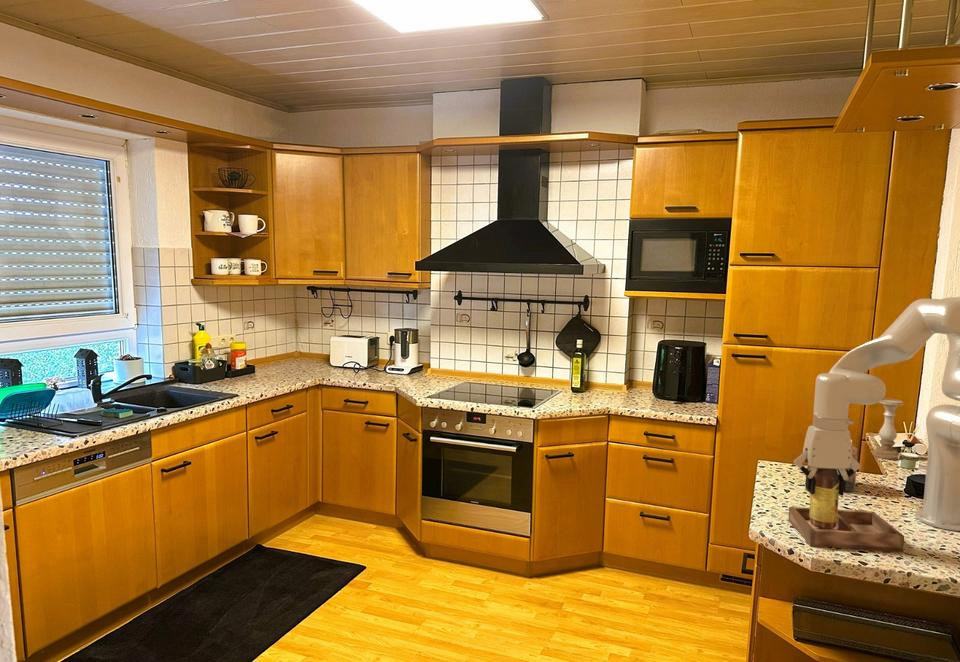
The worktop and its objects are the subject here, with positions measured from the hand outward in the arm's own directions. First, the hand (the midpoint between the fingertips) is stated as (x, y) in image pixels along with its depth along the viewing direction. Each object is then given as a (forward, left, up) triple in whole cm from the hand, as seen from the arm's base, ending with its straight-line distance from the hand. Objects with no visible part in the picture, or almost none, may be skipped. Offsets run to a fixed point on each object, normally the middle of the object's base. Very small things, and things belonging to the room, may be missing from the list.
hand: (824, 492), depth 159 cm
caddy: (-5, 0, -11) cm, 12 cm away
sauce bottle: (0, 0, -9) cm, 9 cm away
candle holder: (-50, -74, -11) cm, 90 cm away
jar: (-18, -39, -11) cm, 44 cm away
